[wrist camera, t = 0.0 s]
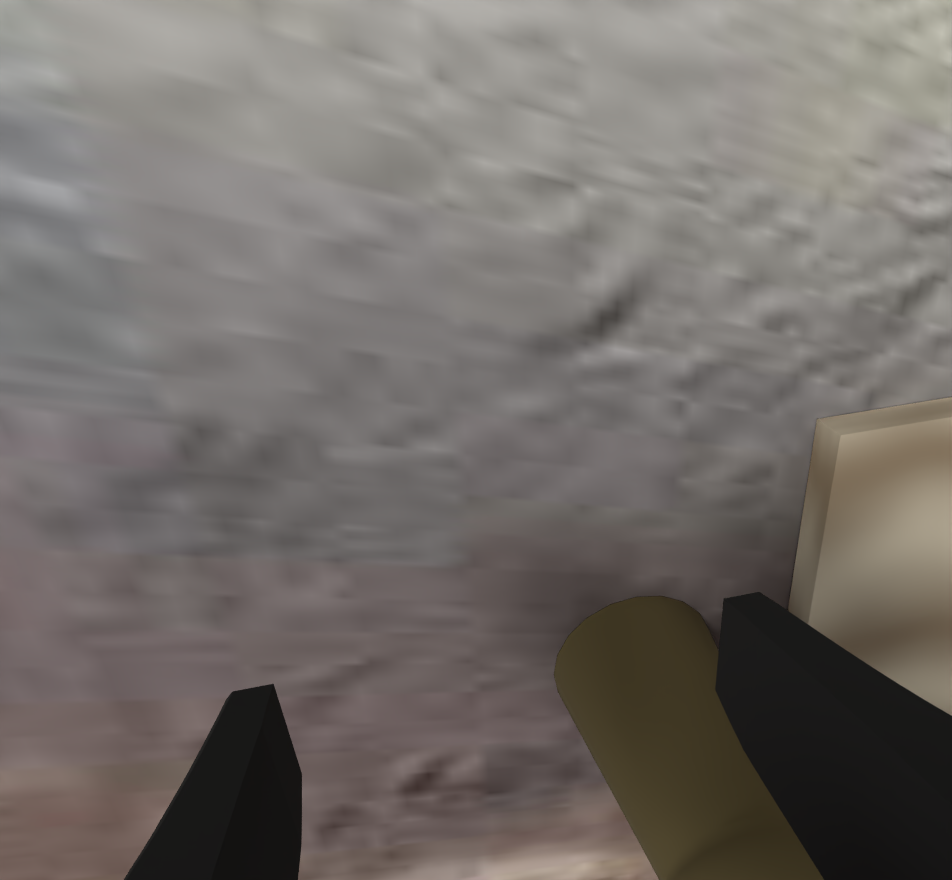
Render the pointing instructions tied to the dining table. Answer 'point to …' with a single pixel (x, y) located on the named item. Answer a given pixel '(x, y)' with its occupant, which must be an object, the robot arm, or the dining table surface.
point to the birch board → (882, 543)
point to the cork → (673, 745)
